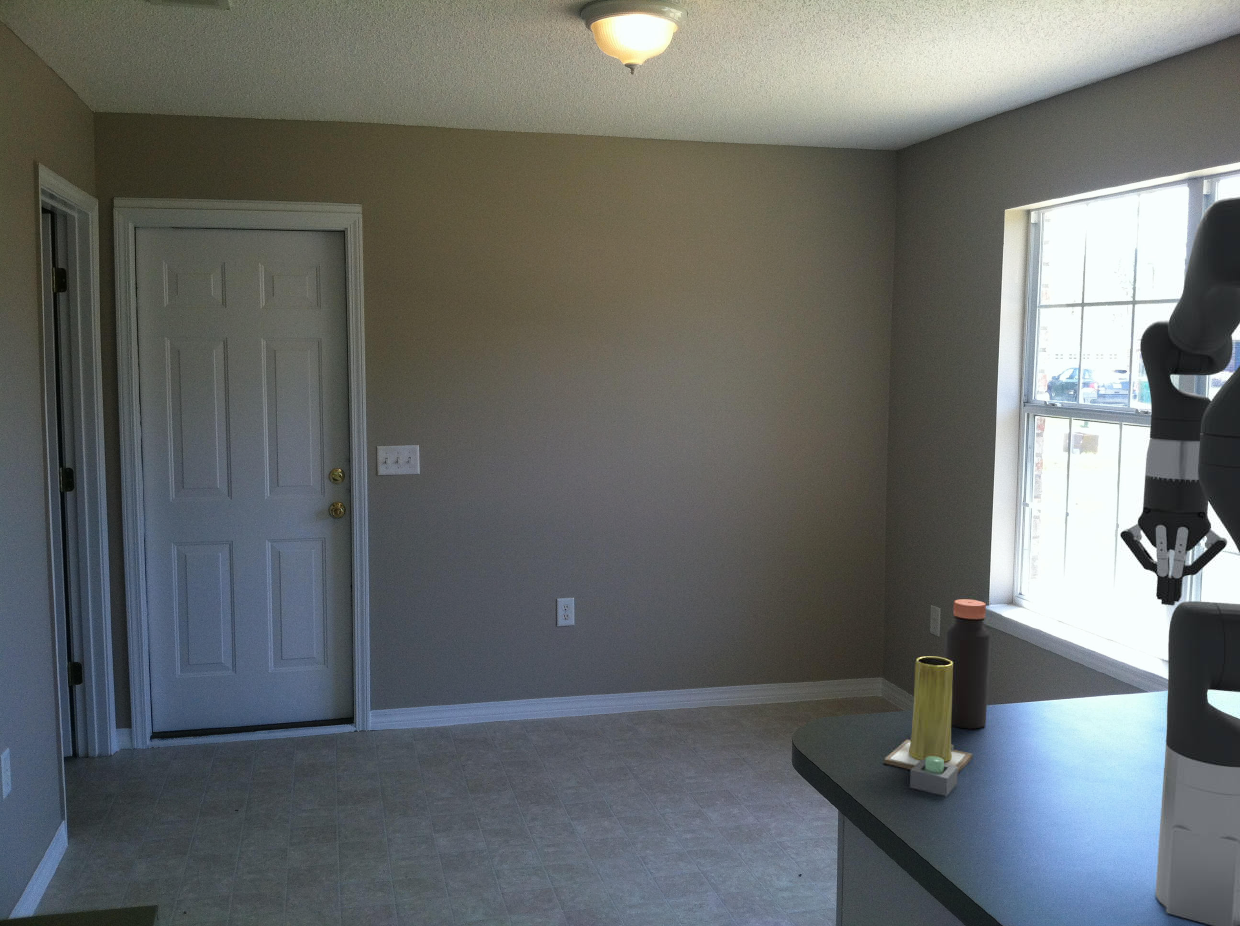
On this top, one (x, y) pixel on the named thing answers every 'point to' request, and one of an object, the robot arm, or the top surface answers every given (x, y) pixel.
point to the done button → (934, 764)
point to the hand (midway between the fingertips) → (1168, 603)
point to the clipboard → (905, 760)
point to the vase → (932, 708)
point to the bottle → (968, 664)
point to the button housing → (933, 779)
